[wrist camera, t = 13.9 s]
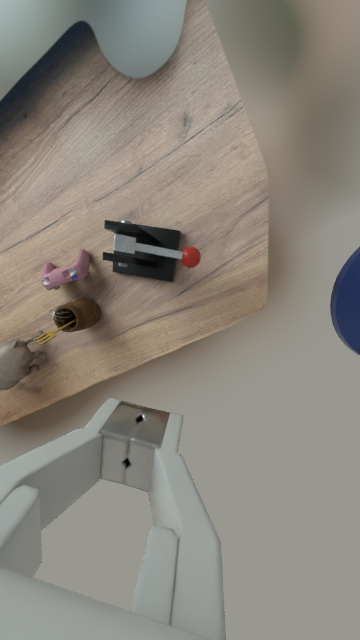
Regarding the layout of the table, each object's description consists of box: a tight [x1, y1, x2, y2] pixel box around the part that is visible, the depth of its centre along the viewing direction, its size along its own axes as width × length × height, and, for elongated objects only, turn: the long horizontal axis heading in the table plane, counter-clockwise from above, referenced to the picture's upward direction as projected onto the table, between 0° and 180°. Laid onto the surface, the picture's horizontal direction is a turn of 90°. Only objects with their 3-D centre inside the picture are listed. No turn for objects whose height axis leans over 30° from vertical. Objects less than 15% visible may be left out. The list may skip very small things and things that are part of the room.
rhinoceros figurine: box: [0, 331, 47, 390], centre depth 42 cm, size 8×14×15 cm
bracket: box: [103, 220, 181, 282], centre depth 31 cm, size 12×9×12 cm
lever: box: [114, 233, 201, 268], centre depth 28 cm, size 13×3×3 cm, turn 82°
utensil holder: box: [33, 299, 101, 345], centre depth 35 cm, size 6×6×12 cm
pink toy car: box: [40, 249, 90, 290], centre depth 37 cm, size 10×5×7 cm
